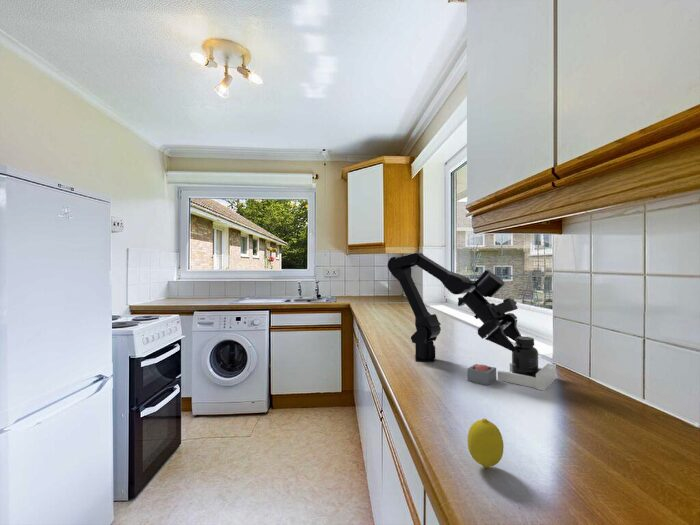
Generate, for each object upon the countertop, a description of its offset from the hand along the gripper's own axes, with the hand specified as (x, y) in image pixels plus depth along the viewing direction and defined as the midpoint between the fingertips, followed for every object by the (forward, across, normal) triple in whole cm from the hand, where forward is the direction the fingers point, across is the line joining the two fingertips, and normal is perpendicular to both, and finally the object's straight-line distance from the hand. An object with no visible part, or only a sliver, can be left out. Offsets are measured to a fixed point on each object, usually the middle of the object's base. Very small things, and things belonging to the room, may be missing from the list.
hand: (519, 347), depth 100 cm
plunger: (0, -9, +11) cm, 15 cm away
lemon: (+13, -51, 0) cm, 52 cm away
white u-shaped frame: (+7, 0, +6) cm, 9 cm away
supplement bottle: (+7, 0, +6) cm, 9 cm away
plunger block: (+1, -9, +12) cm, 15 cm away
